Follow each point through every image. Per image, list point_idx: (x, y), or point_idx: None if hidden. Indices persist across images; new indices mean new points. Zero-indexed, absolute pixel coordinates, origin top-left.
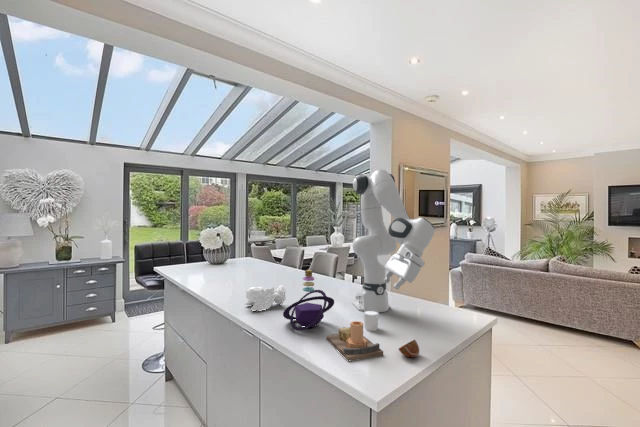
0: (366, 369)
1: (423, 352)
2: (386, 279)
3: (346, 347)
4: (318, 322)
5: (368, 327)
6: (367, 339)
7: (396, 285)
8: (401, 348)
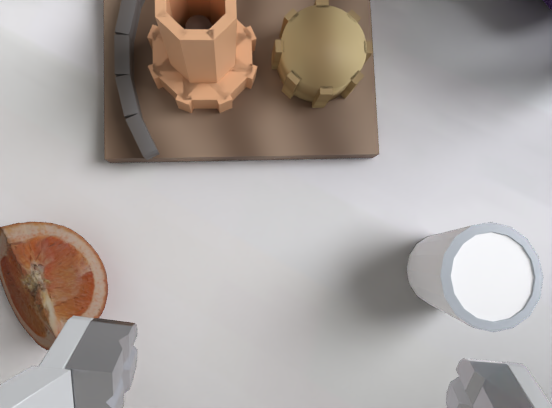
0: (12, 25)
1: None
2: (480, 391)
3: None
4: (550, 2)
5: (425, 242)
6: (264, 152)
7: (52, 350)
8: (22, 224)
